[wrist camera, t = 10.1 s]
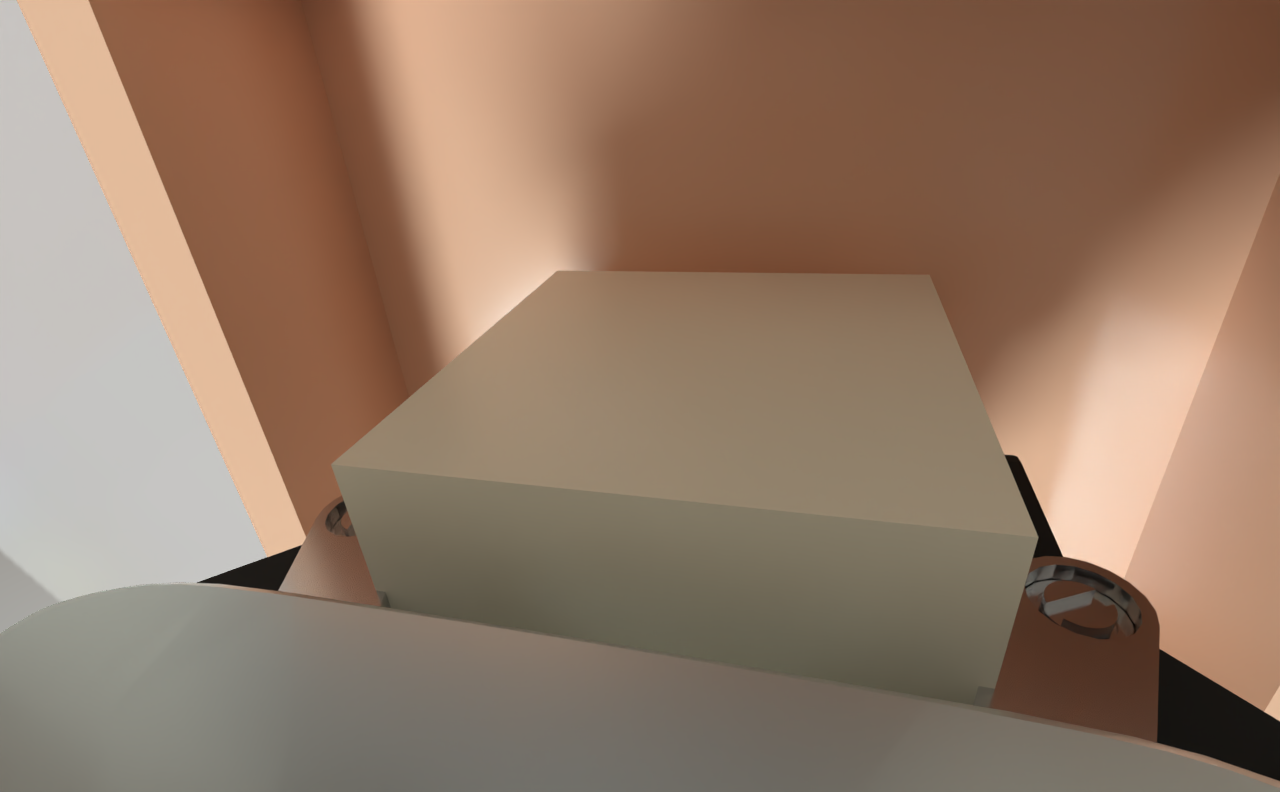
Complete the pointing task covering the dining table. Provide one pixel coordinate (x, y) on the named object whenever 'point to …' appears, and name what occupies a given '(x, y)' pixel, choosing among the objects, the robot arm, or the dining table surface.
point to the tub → (732, 224)
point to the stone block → (710, 479)
